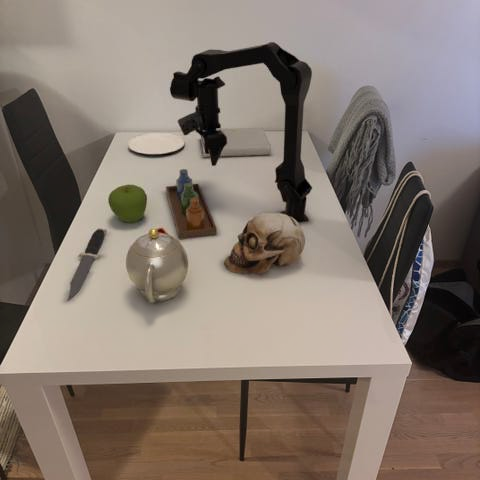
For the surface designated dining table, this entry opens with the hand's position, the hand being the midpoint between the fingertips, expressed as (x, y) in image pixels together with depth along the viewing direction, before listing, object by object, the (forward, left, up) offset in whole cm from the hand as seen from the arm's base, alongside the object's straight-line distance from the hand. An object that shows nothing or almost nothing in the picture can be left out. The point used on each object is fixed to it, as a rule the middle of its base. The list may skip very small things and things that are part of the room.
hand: (210, 159), depth 140 cm
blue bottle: (-1, +8, -11) cm, 14 cm away
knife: (-30, +38, -12) cm, 49 cm away
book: (+37, -16, -12) cm, 42 cm away
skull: (-38, -6, -12) cm, 41 cm away
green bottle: (-10, +8, -11) cm, 17 cm away
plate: (+44, +12, -12) cm, 47 cm away
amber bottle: (-19, +8, -11) cm, 24 cm away
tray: (-9, +8, -12) cm, 17 cm away
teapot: (-46, +21, -12) cm, 52 cm away
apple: (-9, +25, -12) cm, 29 cm away
